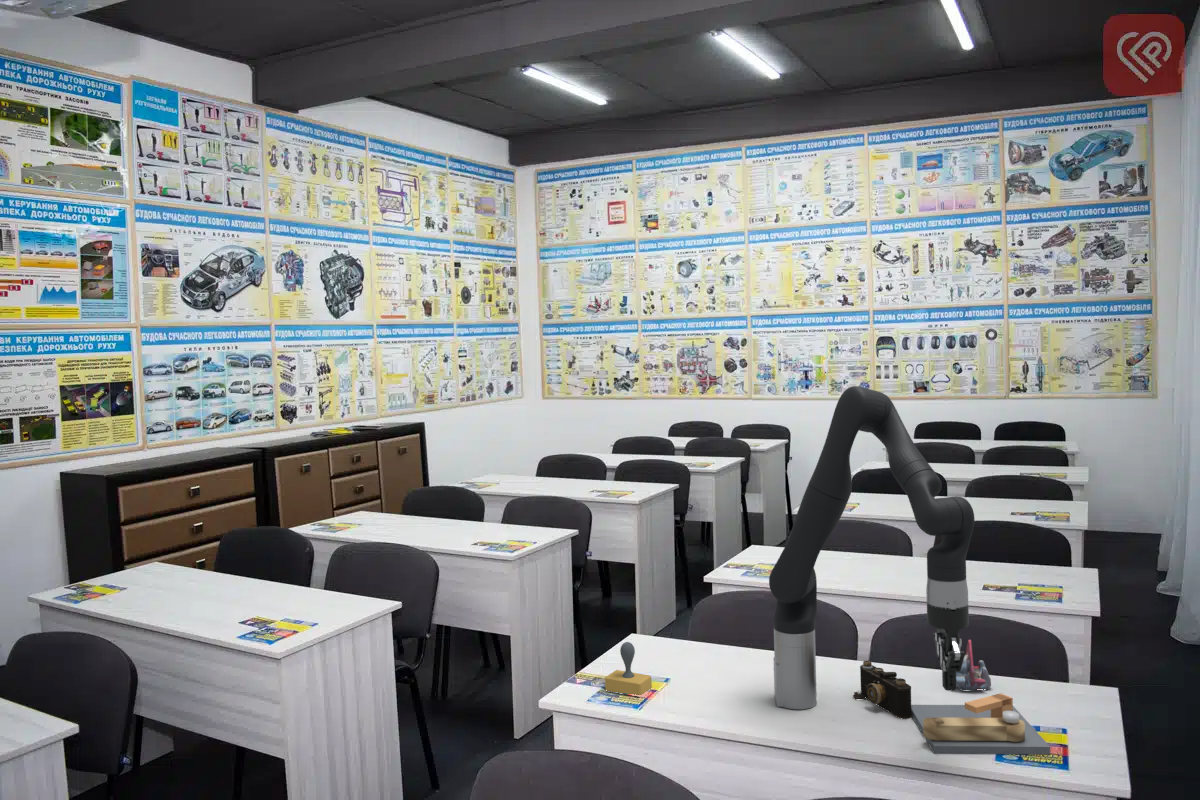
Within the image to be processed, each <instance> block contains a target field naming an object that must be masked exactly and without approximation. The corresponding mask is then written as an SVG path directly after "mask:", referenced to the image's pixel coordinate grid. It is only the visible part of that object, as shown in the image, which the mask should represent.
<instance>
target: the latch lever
mask: <svg viewBox="0 0 1200 800" xmlns="http://www.w3.org/2000/svg"><path fill="white" fill-rule="evenodd" d="M922 735H923V737H924V738H927V739H931V740H972V741H1011V742H1020V741H1023V740H1024V739H1025V723H1024V721H1022V720H1020V719H1019V722H1018V723H1007V722H1005V721H1003V717H1001V718H925V719H924V720H923V734H922Z"/></svg>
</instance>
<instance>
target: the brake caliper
mask: <svg viewBox="0 0 1200 800" xmlns="http://www.w3.org/2000/svg"><path fill="white" fill-rule="evenodd" d="M965 651H966V652H965V657H964V660H963V663H962V667H961V670H960V672H956V687H957V688H959V690H960V689H962V690H977V689H983V690H984V689H988V690H989V689H990V687H991V686H992V680H991V677H990V674H989V671H988V670H987V667H986V664H985V662H984V660H979V661H978V663H977V666H975V665H974V655H973V642H972V640H971V639H968V640H967V645H966V650H965ZM962 690H961V691H962Z"/></svg>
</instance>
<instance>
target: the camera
mask: <svg viewBox="0 0 1200 800" xmlns="http://www.w3.org/2000/svg"><path fill="white" fill-rule="evenodd" d="M859 666H860V667H859V669H860V670H859V672H860V693H859V692H858V691H854V692H853V694H852V698H853V699H854V698H855V699H854V700H856V699H863V700H864V701H869V702H870V703H872V704H873V705H876V704H877V705H876V706H878V705H879V706H878V707H879V708H881V707H882V708H881V709H883V708H884V709H883V710H885V711H886V710H887V711H886V712H888V711H889V712H888V713H889V714H892V715H893V716H894V717H896V716H897V717H896V718H898V717H899V718H898V719H901V718H902V720H908V719H909V720H910V719H912V718H913V717H912V713H911V705H912V686H911V685H910V684H908V683H906V682H907V681H906V679H905V678H897V676H898V674H897V672H896V671H884V668H882V667H877V666H875V665H872V661H871V660H863V661H862V664H861V665H859ZM865 697H866V698H867V699H866V698H865ZM868 699H869V700H868Z"/></svg>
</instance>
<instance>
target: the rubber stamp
mask: <svg viewBox="0 0 1200 800" xmlns="http://www.w3.org/2000/svg"><path fill="white" fill-rule="evenodd" d="M619 650H620V651H619V652H620V656H621V660H622V661H623V664H624V667H625V670H619V669H616V670H614V671H613V672H611V673H609V674H608V675H606V676H604V683H605V685H604V687H605V691H606V690H607V691H612V692H619V693H627V694H634V695H635V694H636V695H642V694H644V693H645V692H646V691H648V690H649V689H651V688H653V686H652V683H653V682H652V675H649V674H644V673H636V672H632V663H633V660H634V658H635V653H636V651H635V646H634V645H633V643H632V642H629V641H625V642H623V643H622V644H621V646H620V649H619ZM612 692H611V693H612Z"/></svg>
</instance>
